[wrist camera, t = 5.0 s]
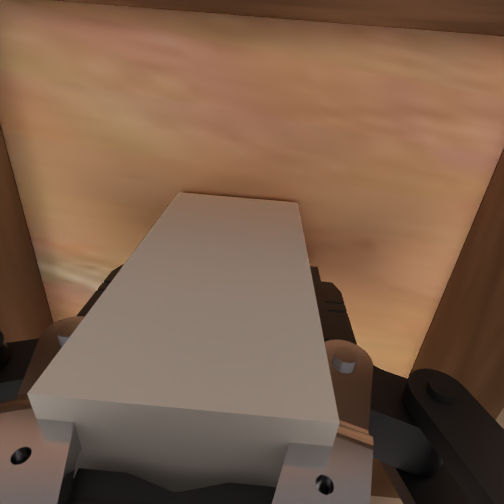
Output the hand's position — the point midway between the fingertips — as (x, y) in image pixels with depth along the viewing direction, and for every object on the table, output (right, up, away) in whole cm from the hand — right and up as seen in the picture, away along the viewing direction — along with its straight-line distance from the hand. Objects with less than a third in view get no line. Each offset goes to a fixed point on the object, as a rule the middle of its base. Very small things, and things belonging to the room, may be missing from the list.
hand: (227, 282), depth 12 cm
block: (0, +1, +2) cm, 2 cm away
